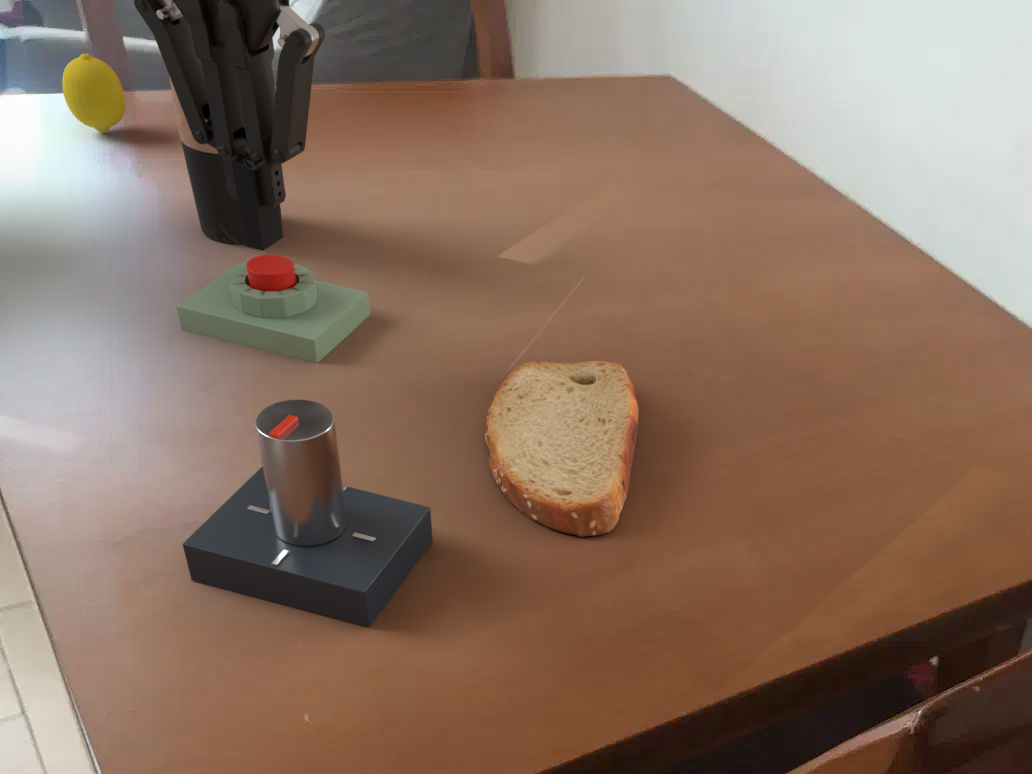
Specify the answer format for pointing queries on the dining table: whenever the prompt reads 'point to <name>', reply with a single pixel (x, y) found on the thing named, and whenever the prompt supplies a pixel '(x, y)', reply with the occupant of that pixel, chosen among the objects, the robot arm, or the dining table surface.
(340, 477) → the metal dial knob
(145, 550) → the dining table surface
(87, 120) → the lemon
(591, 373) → the slice of bread
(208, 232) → the travel mug
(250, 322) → the button block
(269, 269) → the button
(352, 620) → the panel
